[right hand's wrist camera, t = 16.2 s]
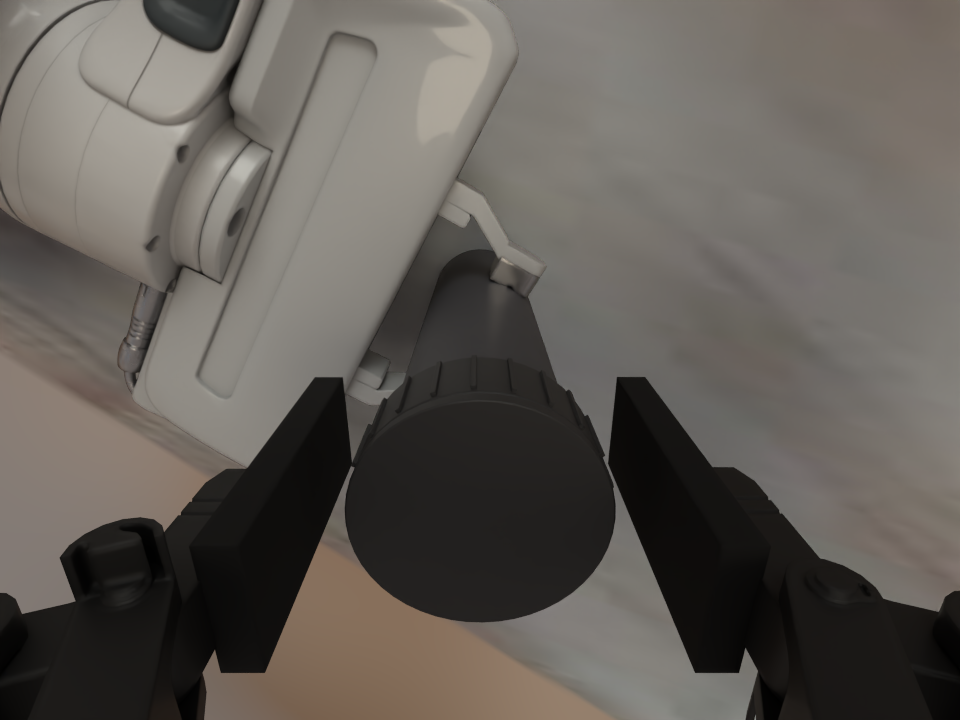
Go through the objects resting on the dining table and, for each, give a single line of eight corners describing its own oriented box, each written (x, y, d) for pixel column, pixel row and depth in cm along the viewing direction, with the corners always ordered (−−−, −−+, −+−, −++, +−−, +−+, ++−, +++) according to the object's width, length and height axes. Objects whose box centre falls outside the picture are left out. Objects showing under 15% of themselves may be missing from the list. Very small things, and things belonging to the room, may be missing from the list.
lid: (628, 382, 12) (660, 432, 10) (557, 570, 14) (570, 645, 12) (386, 327, 11) (365, 366, 9) (348, 530, 13) (324, 600, 11)
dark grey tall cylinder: (473, 351, 29) (464, 619, 12) (417, 287, 28) (322, 488, 11) (541, 300, 28) (634, 517, 11) (487, 230, 27) (500, 357, 10)
